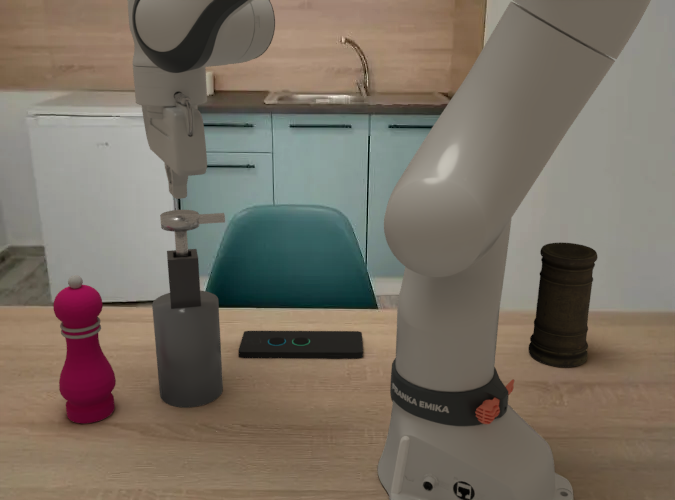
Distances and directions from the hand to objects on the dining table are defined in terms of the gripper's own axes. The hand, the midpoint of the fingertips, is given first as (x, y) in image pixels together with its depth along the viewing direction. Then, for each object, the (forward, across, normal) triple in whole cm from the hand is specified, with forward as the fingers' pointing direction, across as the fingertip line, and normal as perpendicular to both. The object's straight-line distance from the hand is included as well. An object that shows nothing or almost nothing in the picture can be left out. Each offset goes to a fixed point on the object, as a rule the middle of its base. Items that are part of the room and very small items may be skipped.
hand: (178, 196), depth 92 cm
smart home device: (+30, +7, -20) cm, 36 cm away
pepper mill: (+29, 0, +14) cm, 33 cm away
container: (+29, -12, -57) cm, 65 cm away
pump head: (+11, 0, -2) cm, 11 cm away
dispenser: (+29, 0, 0) cm, 29 cm away
